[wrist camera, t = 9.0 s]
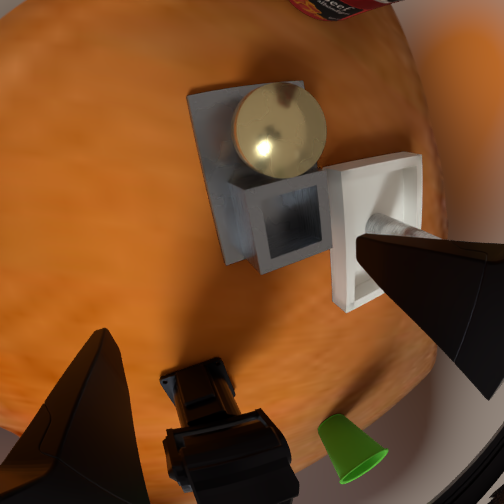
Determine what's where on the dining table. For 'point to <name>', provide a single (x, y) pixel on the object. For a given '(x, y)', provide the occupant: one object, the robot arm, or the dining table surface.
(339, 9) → the canned food
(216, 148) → the plate
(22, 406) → the dining table surface
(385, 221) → the pin
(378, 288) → the tray
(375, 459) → the cup
